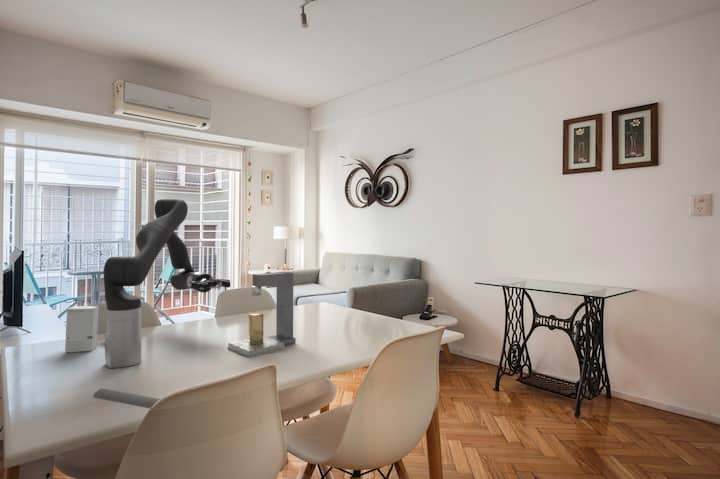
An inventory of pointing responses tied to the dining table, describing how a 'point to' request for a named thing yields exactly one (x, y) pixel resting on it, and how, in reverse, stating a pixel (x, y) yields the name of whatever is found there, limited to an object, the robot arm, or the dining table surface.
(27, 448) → the dining table surface
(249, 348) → the press
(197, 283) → the robot arm
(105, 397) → the half round rod
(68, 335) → the skincare box
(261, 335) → the cylinder
